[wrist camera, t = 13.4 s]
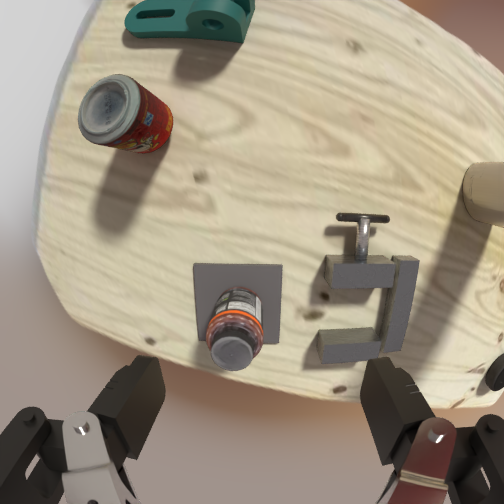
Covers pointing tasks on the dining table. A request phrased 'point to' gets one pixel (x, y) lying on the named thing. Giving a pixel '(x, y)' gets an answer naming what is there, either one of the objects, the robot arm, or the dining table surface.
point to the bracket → (191, 19)
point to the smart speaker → (496, 374)
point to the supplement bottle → (236, 329)
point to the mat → (239, 275)
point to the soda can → (124, 115)
